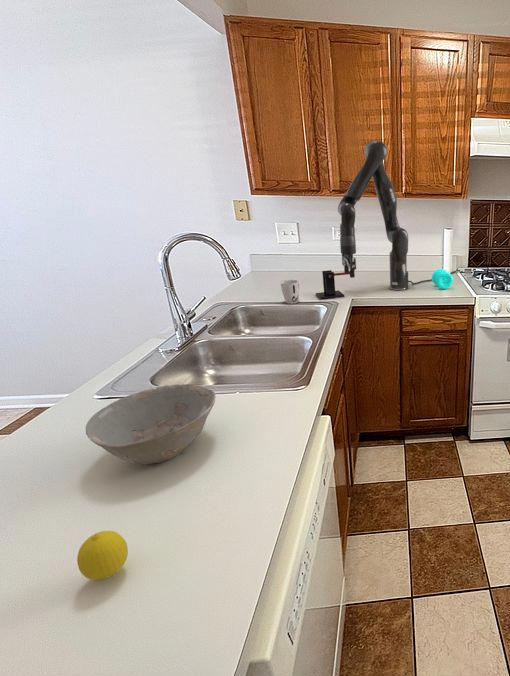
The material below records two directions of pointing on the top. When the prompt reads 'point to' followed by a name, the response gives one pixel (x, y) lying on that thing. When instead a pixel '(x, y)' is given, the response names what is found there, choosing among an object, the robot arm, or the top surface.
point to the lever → (342, 273)
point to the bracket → (329, 287)
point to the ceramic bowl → (152, 422)
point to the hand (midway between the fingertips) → (349, 275)
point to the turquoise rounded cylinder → (440, 282)
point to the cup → (290, 291)
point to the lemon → (102, 555)
